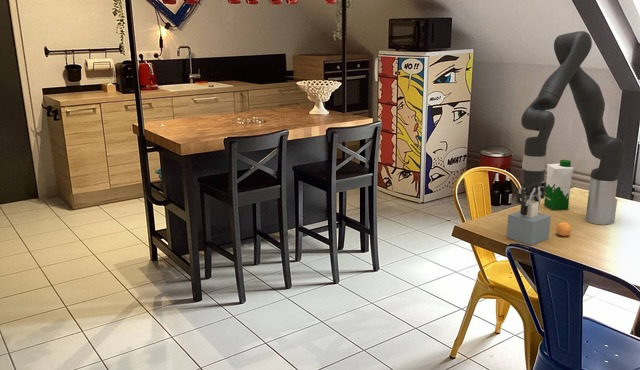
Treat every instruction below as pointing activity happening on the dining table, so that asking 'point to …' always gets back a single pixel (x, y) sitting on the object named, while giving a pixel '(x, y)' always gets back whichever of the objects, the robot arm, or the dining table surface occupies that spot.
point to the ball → (563, 229)
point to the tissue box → (529, 225)
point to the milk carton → (558, 185)
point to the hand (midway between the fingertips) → (529, 212)
